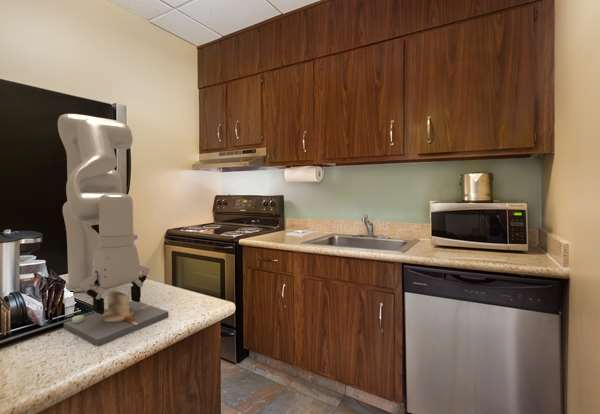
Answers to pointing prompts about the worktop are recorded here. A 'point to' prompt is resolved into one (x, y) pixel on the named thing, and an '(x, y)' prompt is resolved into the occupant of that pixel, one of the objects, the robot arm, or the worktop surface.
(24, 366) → the worktop surface
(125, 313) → the levelling knob
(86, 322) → the base plate
